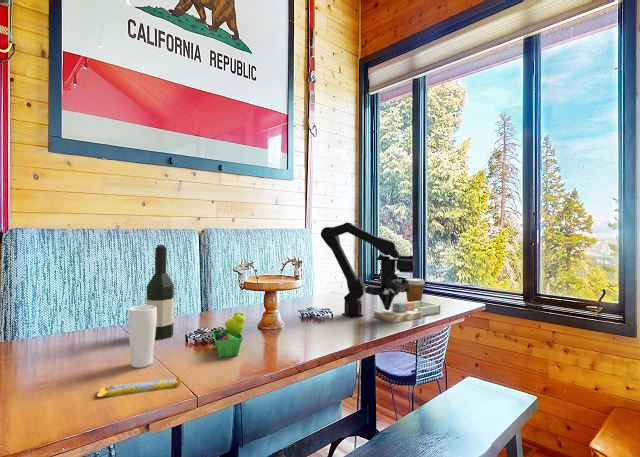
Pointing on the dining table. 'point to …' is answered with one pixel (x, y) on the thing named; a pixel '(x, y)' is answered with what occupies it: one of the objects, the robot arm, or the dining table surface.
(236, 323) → the fruit basket
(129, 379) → the dining table surface
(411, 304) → the terracotta tile
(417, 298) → the disposable coffee cup
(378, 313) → the board
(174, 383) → the candy bar
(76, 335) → the dining table surface
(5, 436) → the dining table surface
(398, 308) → the slate tile
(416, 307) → the tray
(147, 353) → the drinking glass
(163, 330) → the wine bottle
